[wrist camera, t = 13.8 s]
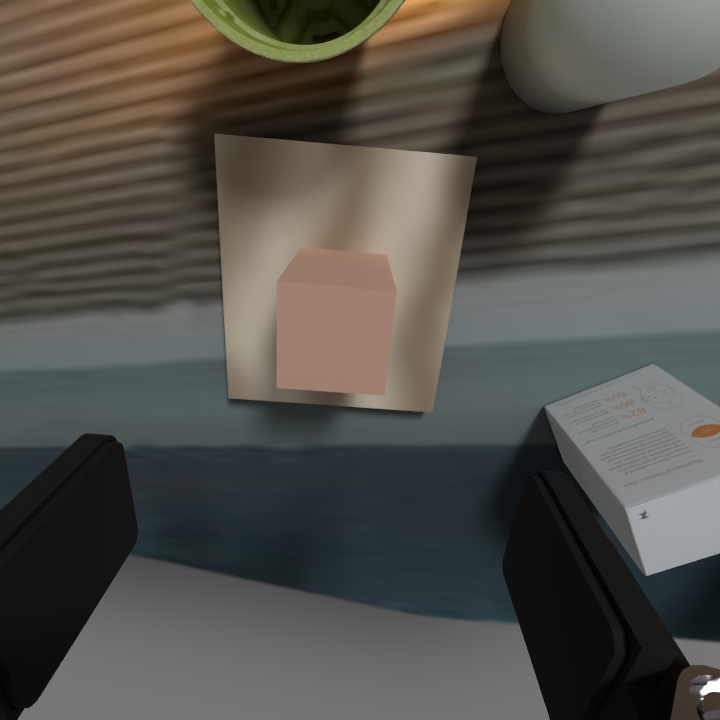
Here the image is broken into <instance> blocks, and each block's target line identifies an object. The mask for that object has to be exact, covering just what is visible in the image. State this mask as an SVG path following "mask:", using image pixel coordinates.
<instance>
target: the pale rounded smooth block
mask: <svg viewBox="0 0 720 720" xmlns="http://www.w3.org/2000/svg"><path fill="white" fill-rule="evenodd" d="M500 52H501V61H502V66H503V70H504V73H505V76H506V79H507V81H508V83H509V85H510V87H511V88H512V90H513V91H514V93H515V94H516V95H517V96H518V97H519V98H520V99H521V100H522V101H523V102H524V103H525V104H527V105H528V106H530V107H532V108H534V109H535V110H538V111H541V112H545V113H553V114H560V113H568V112H572V111H576V110H580V109H584V108H588V107H592V106H596V105H600V104H604V103H608V102H612V101H616V100H620V99H624V98H628V97H632V96H637V95H641V94H645V93H649V92H653V91H657V90H661V89H665V88H669V87H673V86H677V85H681V84H684V83H688V82H692V81H694V80H696V79H699V78H701V77H704V76H706V75H708V74H709V73H711V72H713V71H715V70H717V69H718V68H720V0H511V2H510V4H509V6H508V9H507V12H506V15H505V18H504V22H503V26H502V32H501V44H500Z"/></svg>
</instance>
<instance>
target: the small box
mask: <svg viewBox="0 0 720 720" xmlns="http://www.w3.org/2000/svg"><path fill="white" fill-rule="evenodd" d="M544 408H545V411H546V414H547V417H548V420H549V422H550V425H551V428H552V431H553V434H554V437H555V439H556V442H557V445H558V448H559V451H560V453H561V456H562V459H563V462H564V463H565V465H566V466H567V467H568V469H569V470H570V472H571V473H572V474H573V476H574V477H575V479H576V480H577V482H578V483H579V484H580V486H581V487H582V489H583V490H584V491H585V493H586V494H587V496H588V497H589V498H590V500H591V501H592V503H593V504H594V505H595V507H596V508H597V510H598V511H599V512H600V514H601V515H602V517H603V518H604V519H605V521H606V522H607V524H608V525H609V526H610V528H611V529H612V530H613V532H614V533H615V535H616V536H617V538H618V539H619V541H620V542H621V543H622V545H623V546H624V548H625V549H626V550H627V552H628V553H629V555H630V556H631V557H632V559H633V560H634V562H635V563H636V564H637V566H638V567H639V568H640V570H641V571H642V572H643V573H644V574H645V575H646V576H648V575H651V574H654V573H657V572H661V571H664V570H667V569H670V568H674V567H677V566H680V565H683V564H686V563H690V562H693V561H696V560H699V559H702V558H706V557H709V556H712V555H716V554H719V553H720V407H718V406H717V405H715V404H714V403H712V402H711V401H709V400H708V399H706V398H705V397H703V396H701V395H700V394H698V393H697V392H695V391H694V390H692V389H691V388H689V387H688V386H686V385H685V384H683V383H682V382H680V381H679V380H677V379H676V378H674V377H672V376H671V375H669V374H668V373H666V372H665V371H663V370H662V369H660V368H659V367H657V366H656V365H654V364H651V365H648V366H646V367H643V368H641V369H638V370H636V371H633V372H631V373H628V374H626V375H623V376H621V377H618V378H615V379H613V380H610V381H608V382H605V383H603V384H600V385H598V386H595V387H592V388H590V389H587V390H585V391H582V392H580V393H577V394H575V395H572V396H570V397H567V398H565V399H562V400H560V401H557V402H554V403H552V404H549V405H547V406H545V407H544Z"/></svg>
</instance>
